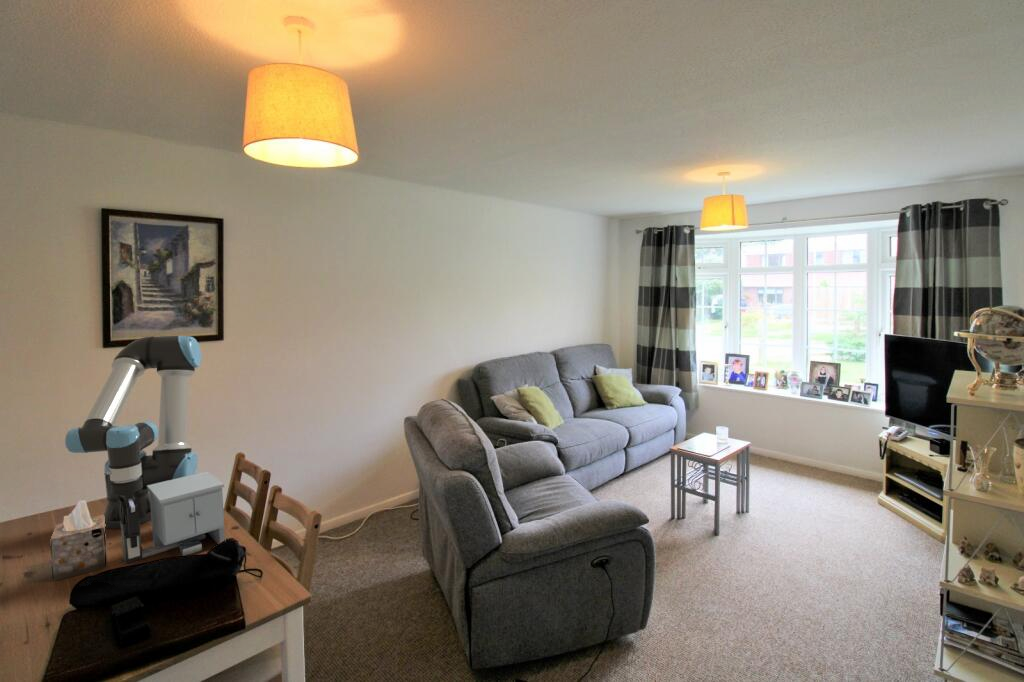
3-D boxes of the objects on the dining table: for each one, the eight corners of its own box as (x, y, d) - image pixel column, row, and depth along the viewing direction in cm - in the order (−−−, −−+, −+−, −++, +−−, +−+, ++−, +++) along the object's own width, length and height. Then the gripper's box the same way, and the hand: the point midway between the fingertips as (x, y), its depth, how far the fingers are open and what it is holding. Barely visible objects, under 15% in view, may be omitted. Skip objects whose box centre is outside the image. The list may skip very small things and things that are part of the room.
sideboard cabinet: (151, 546, 160) (146, 485, 158) (211, 528, 172) (207, 471, 170) (165, 567, 148) (160, 501, 146) (228, 545, 161) (224, 484, 158)
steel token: (179, 550, 158) (179, 543, 158) (198, 545, 162) (197, 537, 161) (183, 557, 155) (182, 549, 154) (202, 551, 158) (201, 543, 158)
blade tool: (123, 559, 153) (120, 520, 151) (202, 534, 168) (199, 499, 166) (126, 564, 150) (122, 525, 149) (206, 538, 165) (203, 503, 164)
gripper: (104, 474, 153) (111, 548, 156) (116, 490, 141) (122, 569, 144) (135, 468, 159) (141, 539, 161) (148, 482, 147) (154, 559, 149)
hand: (132, 553), depth 153 cm, fingers closed on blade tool, 4 cm apart
